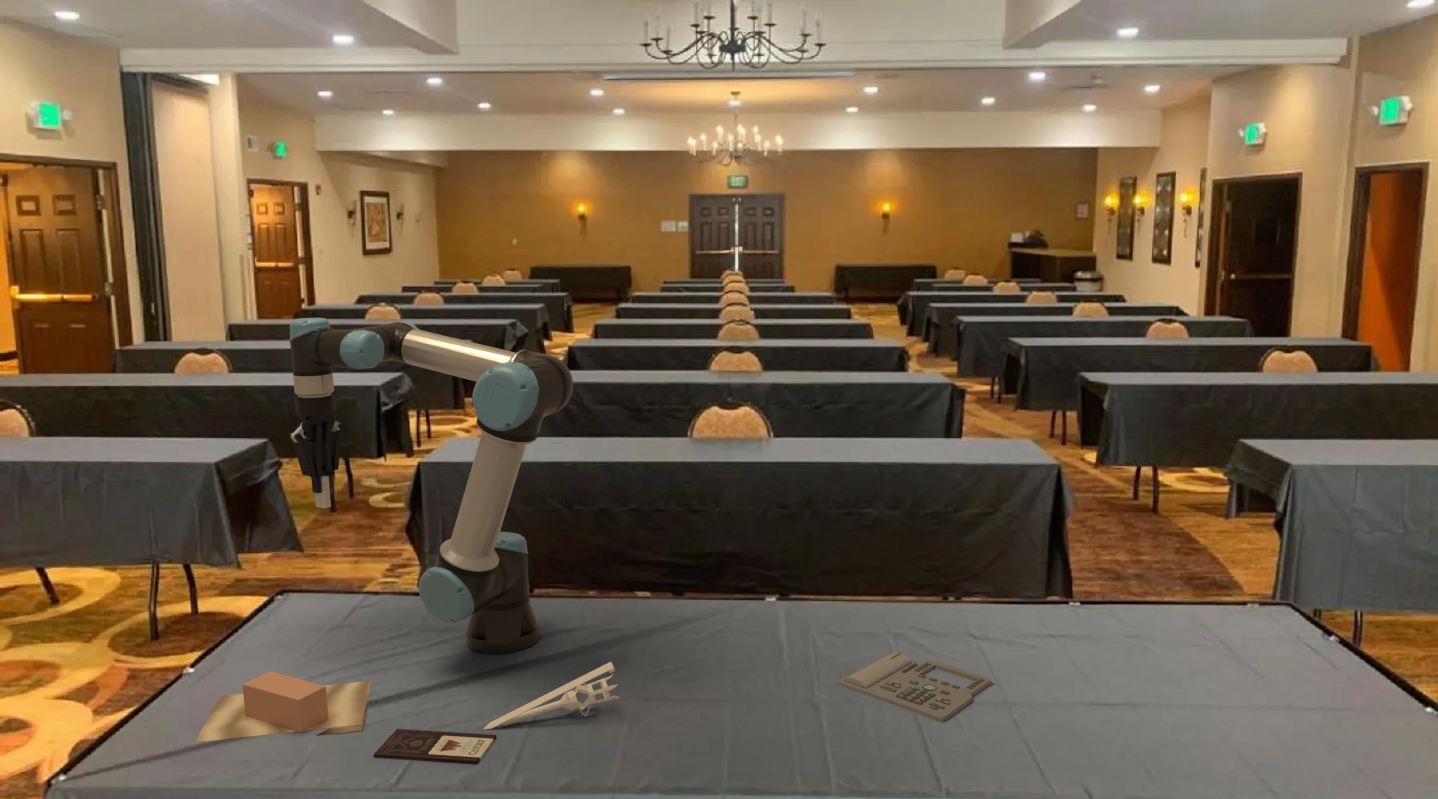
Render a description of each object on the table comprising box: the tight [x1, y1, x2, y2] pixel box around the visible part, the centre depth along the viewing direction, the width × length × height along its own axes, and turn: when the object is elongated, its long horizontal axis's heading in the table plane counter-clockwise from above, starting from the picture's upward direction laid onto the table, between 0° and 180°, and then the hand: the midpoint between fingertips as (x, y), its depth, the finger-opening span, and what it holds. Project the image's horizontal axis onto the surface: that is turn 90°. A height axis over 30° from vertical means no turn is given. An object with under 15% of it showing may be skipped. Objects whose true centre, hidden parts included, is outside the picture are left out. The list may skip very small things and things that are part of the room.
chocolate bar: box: [373, 728, 497, 765], centre depth 180 cm, size 9×1×18 cm
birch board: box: [194, 680, 373, 744], centre depth 192 cm, size 27×18×1 cm, turn 103°
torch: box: [483, 661, 620, 730], centre depth 190 cm, size 6×9×25 cm
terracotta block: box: [241, 671, 328, 733], centre depth 188 cm, size 6×6×14 cm
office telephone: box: [836, 652, 993, 723], centre depth 202 cm, size 23×3×20 cm
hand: (323, 506), depth 220 cm, fingers closed
